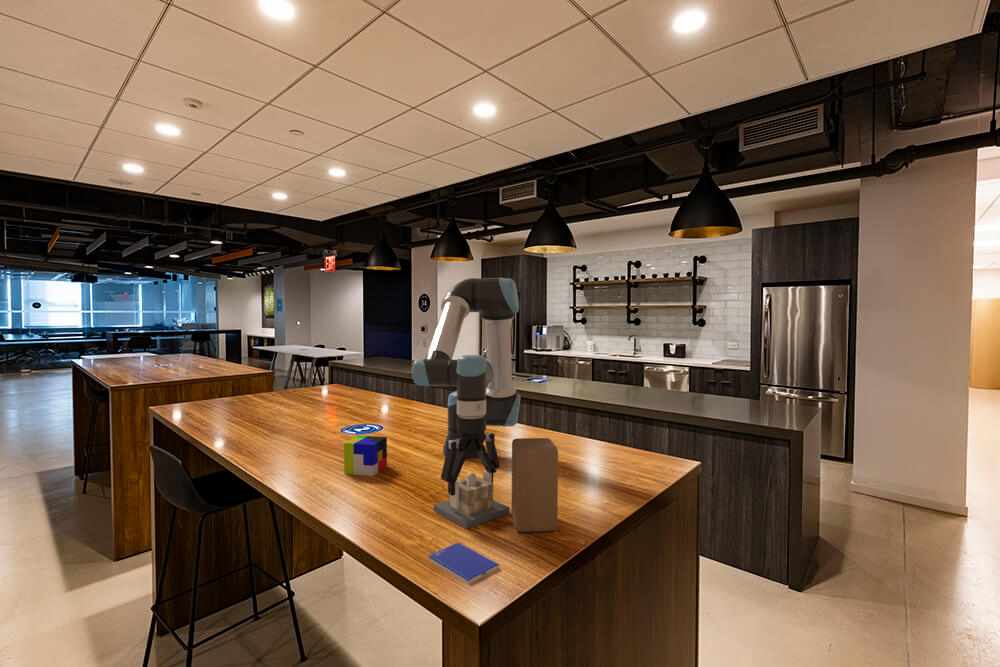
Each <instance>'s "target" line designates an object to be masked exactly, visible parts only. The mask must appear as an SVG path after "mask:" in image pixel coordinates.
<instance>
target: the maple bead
mask: <svg viewBox="0 0 1000 667" xmlns="http://www.w3.org/2000/svg"><path fill="white" fill-rule="evenodd" d="M456 481H457V482H459V508H458V509H457V510H459V511H461V512H463V513H465V514H467V515H470V514H473V513H476V512H479V511H482V510H485V509H488V508H491V507H493V500H494V482H493V483H490V482H488V481H485V480H483V478H482V477H481V478H480V477H478V476H476V486H473V487H468V486H467V477H465V478H461V479H457V480H456Z"/></svg>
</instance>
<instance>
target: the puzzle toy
mask: <svg viewBox="0 0 1000 667" xmlns="http://www.w3.org/2000/svg"><path fill="white" fill-rule="evenodd" d="M387 442H388V437H387V436H378V435H377V436H376V435H375V436H374V435H360V434H359V435H357V436H356V437H353V438H351V439H349V440H348V441H345V442H343V462H344V463H343V473H344V475H357V476H366V477H367V476H368V477H374V476H375V475H377V474H378V473H379V472H381V471H382V470H384V469H386V468H387V467H388V447H387V446H388V443H387Z"/></svg>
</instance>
